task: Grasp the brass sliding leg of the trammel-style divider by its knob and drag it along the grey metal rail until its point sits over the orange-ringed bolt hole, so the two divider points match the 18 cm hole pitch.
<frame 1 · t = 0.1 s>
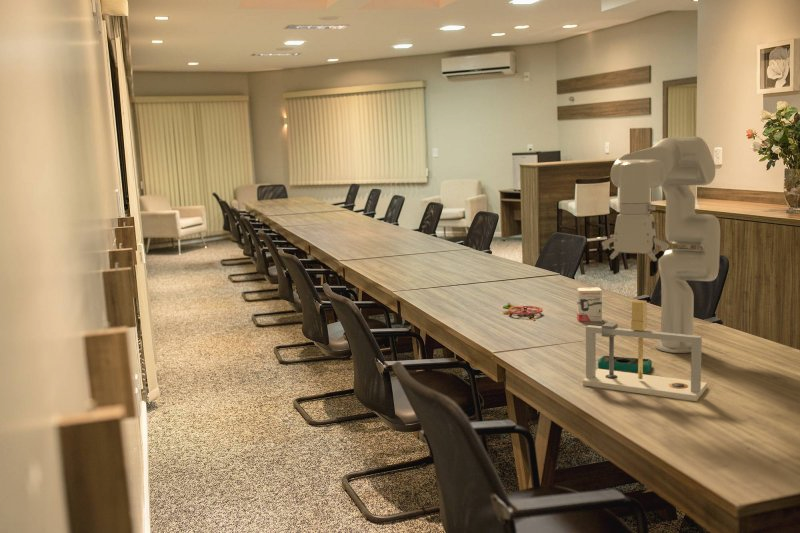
hand: (634, 274, 208), 31 cm above the table, fingers open, 9 cm apart
digital multimeter: (624, 369, 232), on the table
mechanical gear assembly: (521, 314, 309), on the table
sliding leg: (639, 340, 212), point 13 cm above the table, slide at -1.0 cm
pitch gauge: (644, 386, 215), on the table
ink box: (589, 320, 292), on the table
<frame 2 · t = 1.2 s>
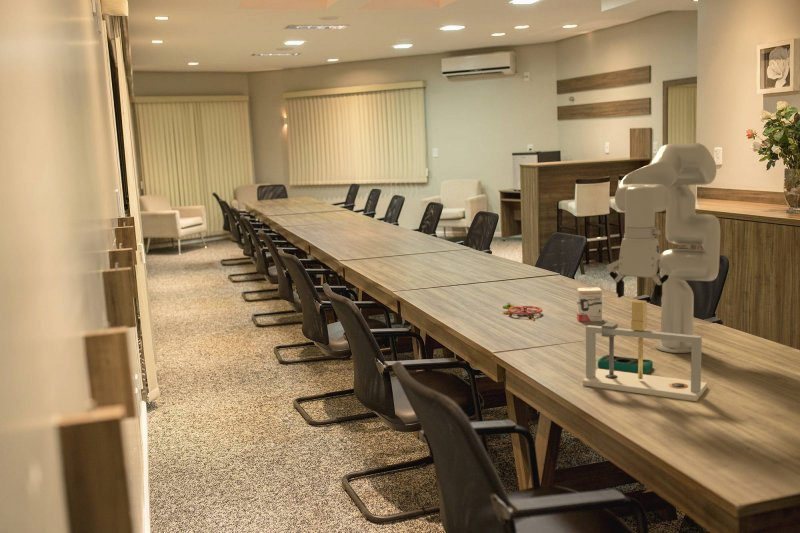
hand: (638, 297, 210), 25 cm above the table, fingers open, 9 cm apart
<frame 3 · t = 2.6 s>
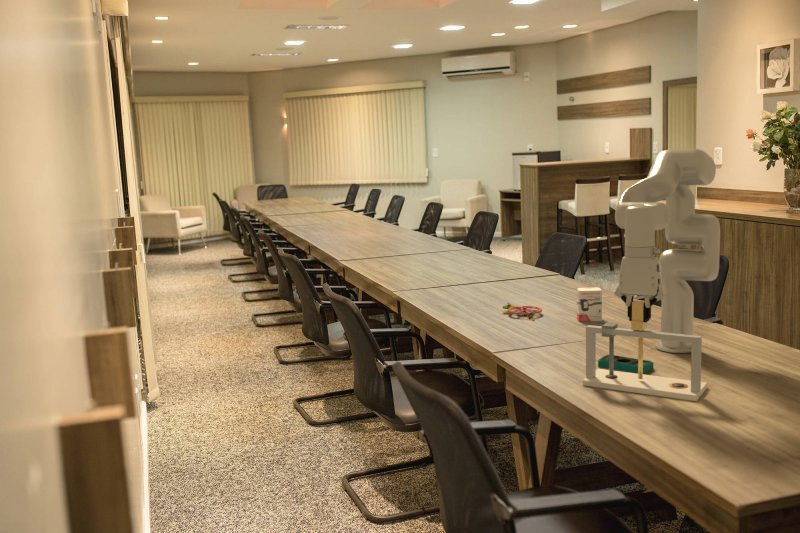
hand: (639, 320, 211), 19 cm above the table, fingers closed on sliding leg, 3 cm apart
sliding leg: (639, 340, 212), point 13 cm above the table, slide at -1.0 cm, touching gripper
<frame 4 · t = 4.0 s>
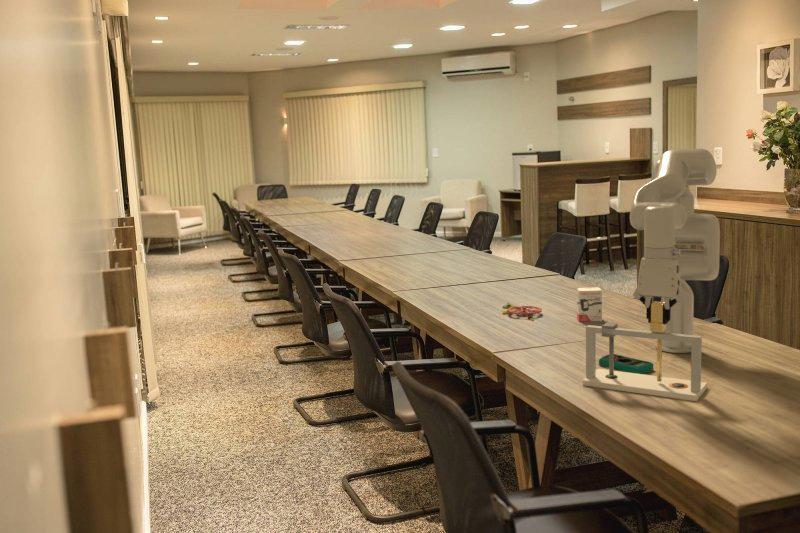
hand: (658, 321, 208), 19 cm above the table, fingers closed on sliding leg, 3 cm apart
sliding leg: (658, 342, 209), point 13 cm above the table, slide at 4.0 cm, touching gripper
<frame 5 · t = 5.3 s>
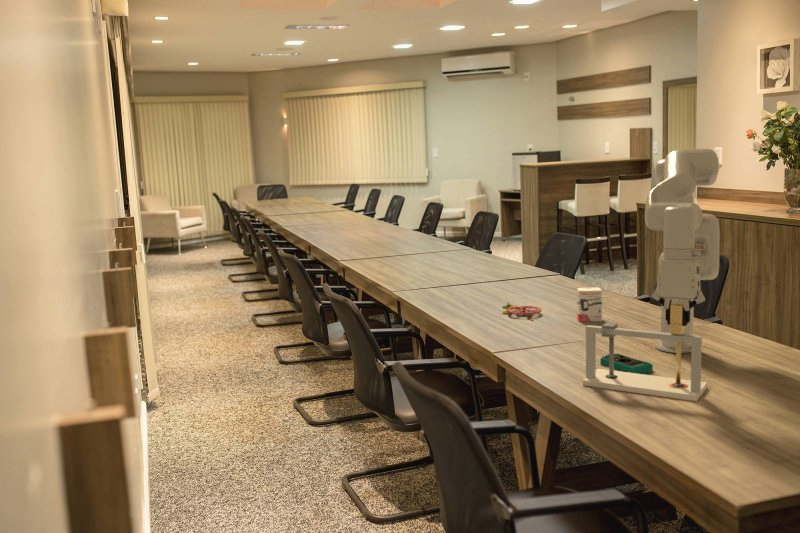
hand: (677, 323, 205), 19 cm above the table, fingers closed on sliding leg, 3 cm apart
sliding leg: (677, 344, 206), point 13 cm above the table, slide at 9.0 cm, touching gripper
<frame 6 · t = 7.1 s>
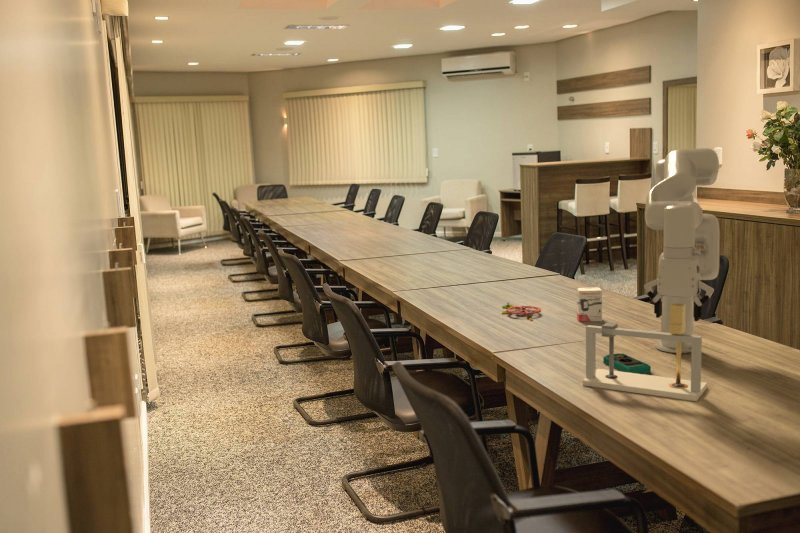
hand: (677, 318, 205), 20 cm above the table, fingers open, 9 cm apart
sliding leg: (677, 344, 206), point 13 cm above the table, slide at 9.0 cm
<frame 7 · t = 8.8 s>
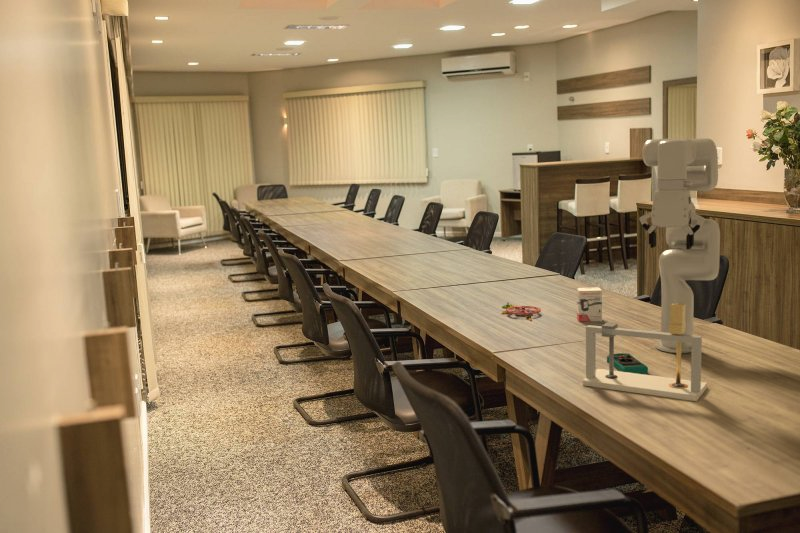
hand: (670, 247, 219), 36 cm above the table, fingers open, 9 cm apart
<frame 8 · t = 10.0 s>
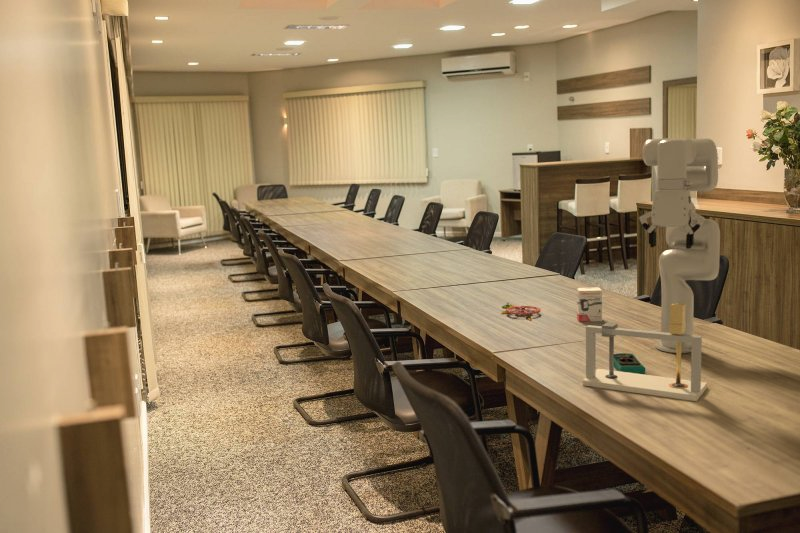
hand: (670, 247, 219), 36 cm above the table, fingers open, 9 cm apart
at the end: sliding leg slide at 9.0 cm; the gripper is holding nothing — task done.
